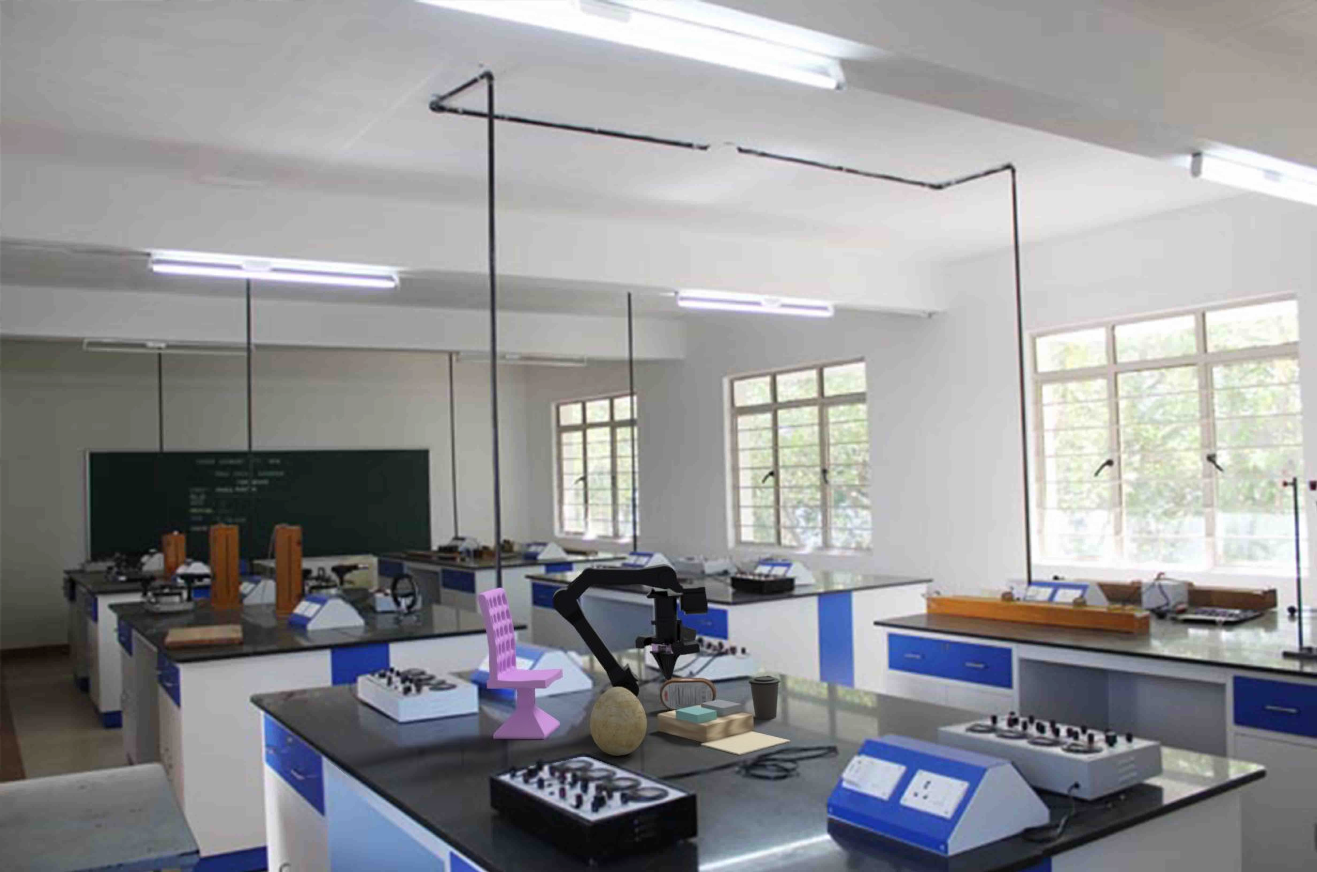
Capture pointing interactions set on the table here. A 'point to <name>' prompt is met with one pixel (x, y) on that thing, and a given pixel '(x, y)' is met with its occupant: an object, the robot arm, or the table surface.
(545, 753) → the table surface
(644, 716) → the fossilized egg
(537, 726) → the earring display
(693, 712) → the teal block
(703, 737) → the wooden block
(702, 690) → the tin
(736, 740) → the mat
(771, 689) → the coffee cup
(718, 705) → the gray rectangular block
